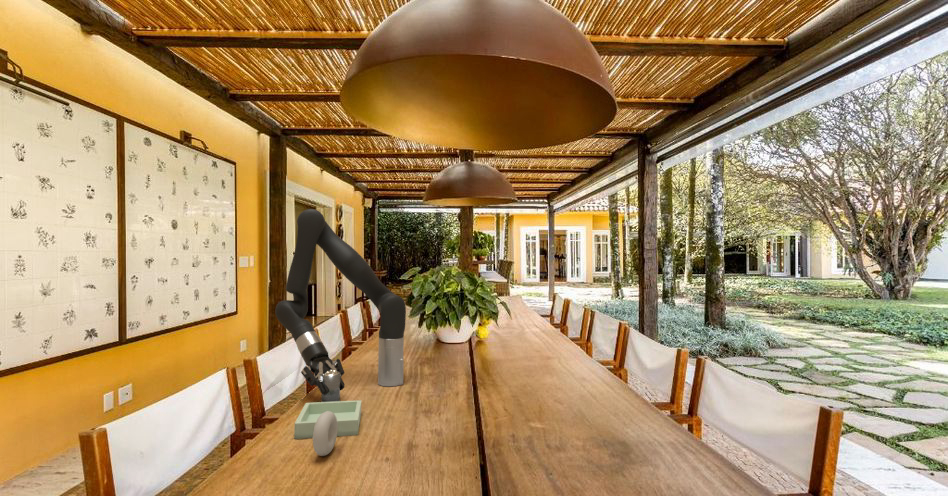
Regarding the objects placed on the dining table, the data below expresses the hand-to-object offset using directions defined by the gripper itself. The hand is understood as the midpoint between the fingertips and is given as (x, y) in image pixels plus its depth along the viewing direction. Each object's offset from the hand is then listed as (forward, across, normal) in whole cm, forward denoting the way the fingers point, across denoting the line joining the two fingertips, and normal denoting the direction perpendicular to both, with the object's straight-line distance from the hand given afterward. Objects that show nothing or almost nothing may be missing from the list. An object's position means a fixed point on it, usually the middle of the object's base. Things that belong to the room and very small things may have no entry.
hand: (334, 391), depth 138 cm
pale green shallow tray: (+12, -11, -5) cm, 17 cm away
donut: (+21, -23, -14) cm, 34 cm away
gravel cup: (+2, 0, +5) cm, 5 cm away
